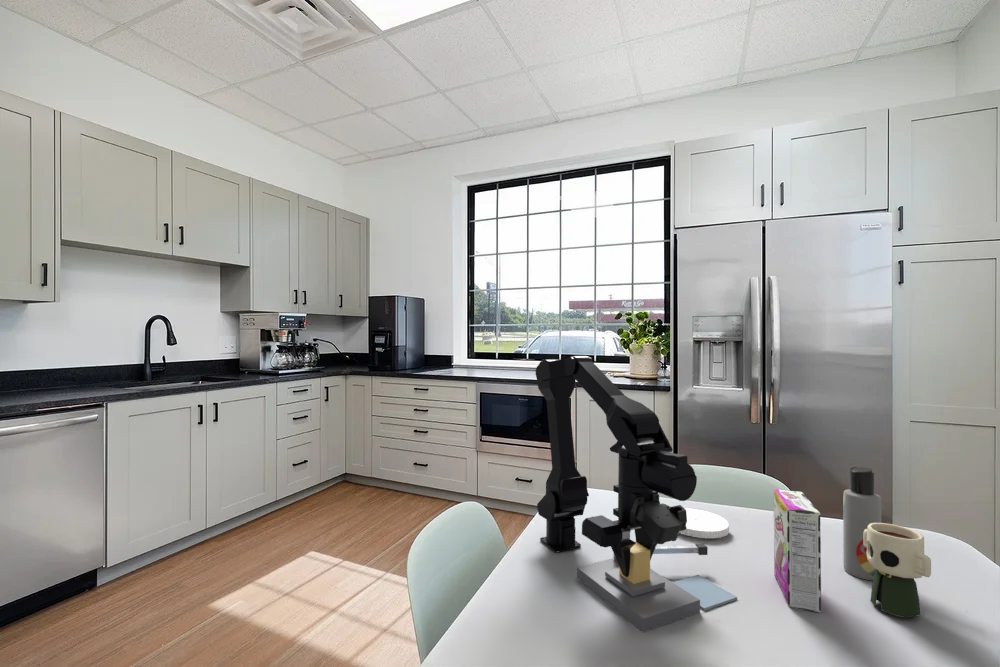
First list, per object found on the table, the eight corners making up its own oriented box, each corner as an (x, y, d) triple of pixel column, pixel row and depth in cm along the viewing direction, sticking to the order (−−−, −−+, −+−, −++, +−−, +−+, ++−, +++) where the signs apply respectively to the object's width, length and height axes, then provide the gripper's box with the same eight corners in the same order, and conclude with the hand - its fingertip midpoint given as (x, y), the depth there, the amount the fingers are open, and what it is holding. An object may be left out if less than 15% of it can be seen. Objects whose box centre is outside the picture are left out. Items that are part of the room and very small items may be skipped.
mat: (666, 586, 81) (666, 584, 81) (698, 576, 84) (698, 574, 84) (704, 610, 74) (704, 608, 74) (737, 599, 77) (737, 596, 77)
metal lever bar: (615, 560, 85) (615, 548, 85) (612, 556, 87) (612, 544, 87) (707, 559, 86) (707, 547, 87) (703, 555, 88) (703, 543, 88)
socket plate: (576, 578, 83) (576, 567, 83) (627, 564, 88) (627, 554, 88) (643, 632, 68) (643, 618, 68) (699, 612, 73) (700, 599, 73)
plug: (605, 588, 80) (605, 542, 80) (635, 580, 83) (636, 536, 83) (632, 610, 73) (633, 560, 74) (664, 600, 77) (665, 552, 77)
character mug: (846, 593, 79) (846, 518, 80) (882, 591, 80) (882, 517, 81) (909, 633, 69) (909, 546, 69) (950, 630, 70) (950, 544, 70)
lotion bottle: (888, 582, 83) (888, 473, 84) (853, 579, 84) (853, 471, 85) (870, 567, 89) (870, 465, 89) (837, 564, 90) (837, 463, 90)
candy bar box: (771, 575, 85) (772, 487, 86) (803, 580, 84) (803, 491, 84) (786, 608, 75) (786, 507, 75) (822, 614, 73) (822, 512, 73)
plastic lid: (656, 532, 105) (656, 521, 105) (672, 514, 116) (672, 504, 116) (723, 548, 97) (723, 537, 97) (733, 527, 108) (733, 516, 108)
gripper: (625, 505, 67) (624, 612, 67) (712, 489, 75) (712, 584, 75) (580, 484, 77) (579, 576, 77) (661, 471, 85) (661, 555, 85)
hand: (634, 573), depth 78 cm, fingers closed on plug, 4 cm apart
